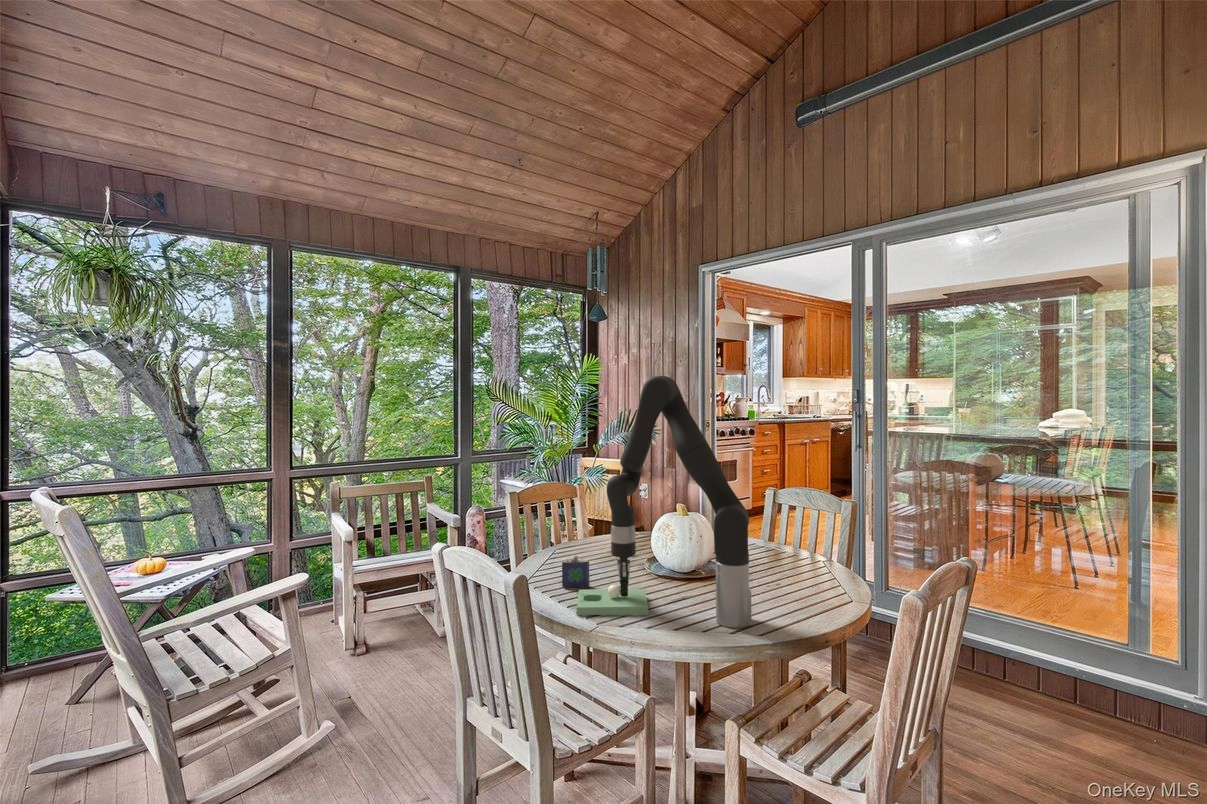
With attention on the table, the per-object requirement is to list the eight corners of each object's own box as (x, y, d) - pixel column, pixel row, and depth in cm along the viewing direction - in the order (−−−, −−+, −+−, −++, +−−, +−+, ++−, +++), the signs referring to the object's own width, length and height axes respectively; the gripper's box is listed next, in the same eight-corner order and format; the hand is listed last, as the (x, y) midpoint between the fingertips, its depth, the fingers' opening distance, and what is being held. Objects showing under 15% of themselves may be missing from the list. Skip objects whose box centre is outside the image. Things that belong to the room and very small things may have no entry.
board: (644, 596, 180) (644, 588, 180) (648, 615, 165) (648, 606, 165) (579, 597, 180) (578, 589, 180) (576, 615, 165) (576, 607, 165)
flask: (589, 585, 191) (588, 554, 191) (589, 588, 189) (589, 556, 188) (562, 586, 191) (561, 555, 190) (562, 589, 188) (561, 557, 188)
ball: (623, 588, 174) (613, 579, 174) (623, 593, 170) (614, 584, 170) (614, 597, 175) (604, 589, 174) (614, 603, 171) (605, 594, 170)
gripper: (636, 544, 166) (637, 603, 166) (634, 533, 179) (635, 588, 179) (611, 545, 166) (612, 603, 166) (610, 534, 179) (611, 588, 179)
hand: (624, 595), depth 173 cm, fingers closed
